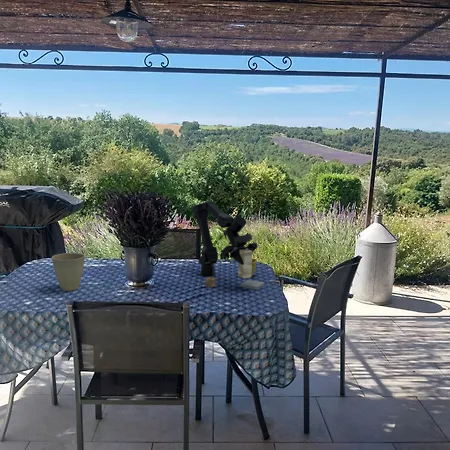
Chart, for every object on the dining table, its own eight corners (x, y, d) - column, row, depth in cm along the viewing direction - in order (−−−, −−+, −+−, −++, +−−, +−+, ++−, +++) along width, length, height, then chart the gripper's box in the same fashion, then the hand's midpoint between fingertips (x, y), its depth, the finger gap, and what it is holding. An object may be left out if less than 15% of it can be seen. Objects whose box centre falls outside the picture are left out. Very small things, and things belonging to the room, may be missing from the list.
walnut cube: (205, 287, 225) (205, 279, 225) (207, 284, 229) (207, 277, 229) (213, 287, 224) (213, 279, 224) (215, 285, 228) (215, 277, 228)
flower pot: (254, 278, 242) (254, 262, 240) (238, 277, 244) (238, 261, 242) (256, 274, 250) (257, 258, 249) (240, 273, 252) (241, 257, 251)
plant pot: (70, 282, 226) (69, 251, 224) (92, 287, 219) (91, 255, 217) (45, 290, 213) (44, 257, 211) (68, 295, 206) (67, 261, 204)
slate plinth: (240, 286, 226) (240, 284, 226) (247, 282, 234) (248, 279, 234) (257, 289, 222) (257, 286, 222) (264, 285, 230) (264, 282, 230)
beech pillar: (238, 276, 221) (239, 250, 219) (245, 274, 224) (246, 249, 222) (244, 278, 218) (245, 252, 215) (251, 277, 220) (252, 251, 218)
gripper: (226, 229, 215) (239, 257, 208) (256, 226, 225) (270, 252, 218) (216, 242, 222) (228, 269, 215) (245, 239, 233) (258, 265, 226)
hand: (247, 264), depth 218 cm, fingers closed on beech pillar, 4 cm apart
